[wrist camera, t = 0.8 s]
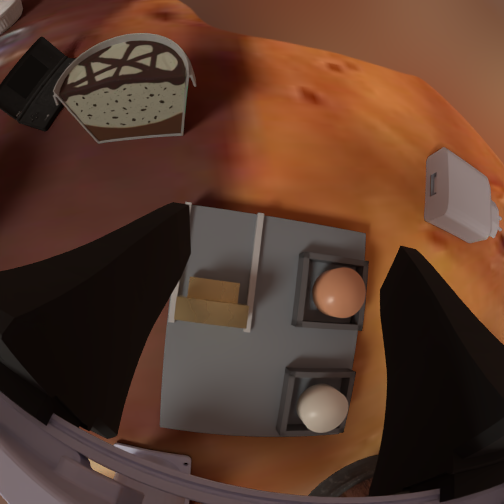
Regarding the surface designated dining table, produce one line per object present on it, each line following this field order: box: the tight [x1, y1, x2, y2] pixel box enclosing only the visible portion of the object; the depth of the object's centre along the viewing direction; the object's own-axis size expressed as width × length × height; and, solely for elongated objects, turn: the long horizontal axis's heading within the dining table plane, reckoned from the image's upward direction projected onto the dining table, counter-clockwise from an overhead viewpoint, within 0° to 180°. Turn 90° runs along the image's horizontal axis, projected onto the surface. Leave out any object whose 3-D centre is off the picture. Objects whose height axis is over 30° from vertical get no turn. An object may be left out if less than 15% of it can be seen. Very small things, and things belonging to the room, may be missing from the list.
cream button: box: [296, 384, 348, 433], centre depth 22 cm, size 4×4×2 cm
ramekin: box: [0, 0, 23, 35], centre depth 23 cm, size 11×11×5 cm
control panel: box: [160, 202, 369, 437], centre depth 24 cm, size 20×17×4 cm
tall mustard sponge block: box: [174, 277, 249, 329], centre depth 22 cm, size 3×5×4 cm, turn 83°
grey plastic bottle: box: [424, 147, 502, 243], centre depth 30 cm, size 5×9×15 cm
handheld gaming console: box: [0, 37, 75, 131], centre depth 24 cm, size 12×7×10 cm
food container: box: [53, 33, 196, 143], centre depth 22 cm, size 12×6×10 cm, turn 94°
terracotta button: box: [312, 267, 366, 318], centre depth 23 cm, size 4×4×2 cm
